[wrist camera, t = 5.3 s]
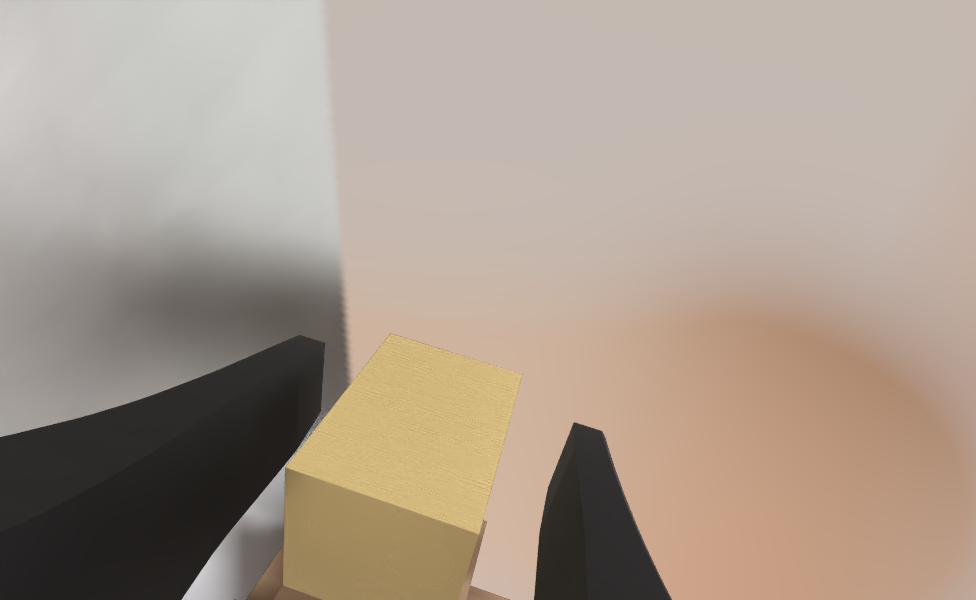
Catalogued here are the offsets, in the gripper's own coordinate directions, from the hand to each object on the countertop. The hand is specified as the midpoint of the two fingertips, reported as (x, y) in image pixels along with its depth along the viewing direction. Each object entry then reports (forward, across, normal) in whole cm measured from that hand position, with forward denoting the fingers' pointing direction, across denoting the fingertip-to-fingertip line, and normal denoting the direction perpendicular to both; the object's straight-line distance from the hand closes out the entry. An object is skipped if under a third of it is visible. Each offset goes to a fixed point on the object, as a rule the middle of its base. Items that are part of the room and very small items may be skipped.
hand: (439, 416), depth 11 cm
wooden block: (0, 0, +5) cm, 5 cm away
